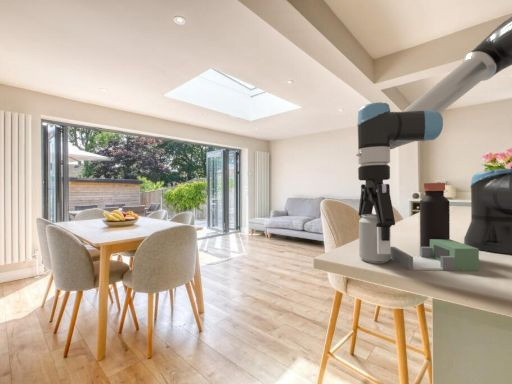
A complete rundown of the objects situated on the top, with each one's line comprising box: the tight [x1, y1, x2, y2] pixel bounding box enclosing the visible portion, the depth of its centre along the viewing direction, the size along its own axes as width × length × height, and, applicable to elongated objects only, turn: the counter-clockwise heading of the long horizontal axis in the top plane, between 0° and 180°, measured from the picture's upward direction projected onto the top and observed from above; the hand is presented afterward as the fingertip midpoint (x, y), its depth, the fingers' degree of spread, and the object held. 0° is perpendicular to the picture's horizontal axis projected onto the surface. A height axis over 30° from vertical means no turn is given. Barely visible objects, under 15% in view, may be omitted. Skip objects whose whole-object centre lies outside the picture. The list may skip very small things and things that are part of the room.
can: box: [358, 213, 392, 264], centre depth 67 cm, size 8×8×12 cm
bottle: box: [419, 182, 451, 248], centre depth 72 cm, size 7×7×20 cm
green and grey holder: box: [390, 239, 480, 272], centre depth 63 cm, size 15×10×5 cm, turn 84°
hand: (374, 247), depth 67 cm, fingers open, 12 cm apart
